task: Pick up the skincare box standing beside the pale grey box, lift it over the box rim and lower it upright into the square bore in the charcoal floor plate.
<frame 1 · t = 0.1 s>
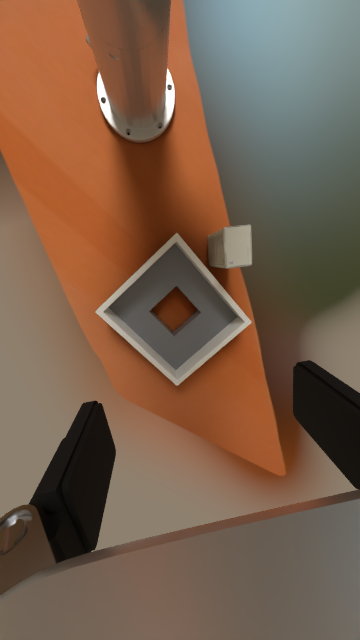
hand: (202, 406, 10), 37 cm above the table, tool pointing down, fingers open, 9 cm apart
bore box: (174, 308, 47), on the table
skincare box: (217, 250, 45), on the table
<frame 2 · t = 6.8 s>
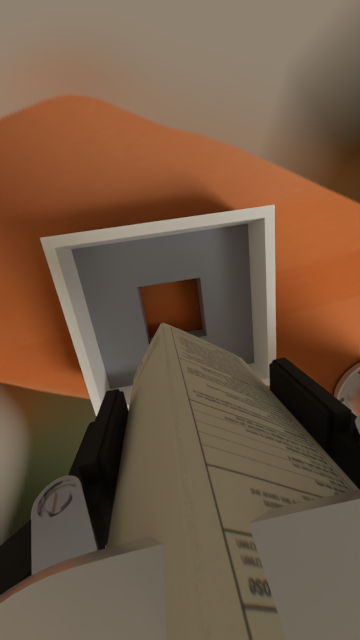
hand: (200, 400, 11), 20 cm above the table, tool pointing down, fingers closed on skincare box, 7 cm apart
bore box: (172, 307, 29), on the table
skincare box: (190, 365, 14), point 16 cm above the table, touching gripper
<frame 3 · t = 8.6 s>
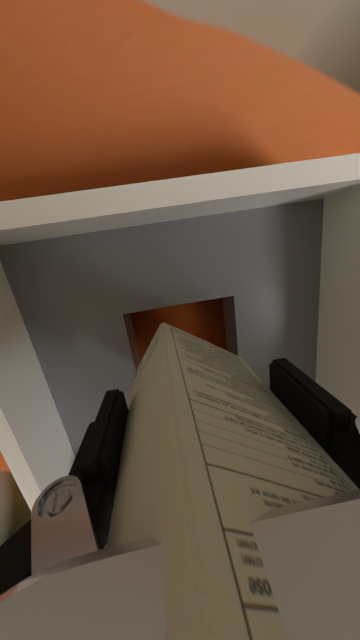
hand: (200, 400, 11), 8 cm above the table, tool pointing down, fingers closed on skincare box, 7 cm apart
bore box: (182, 340, 18), on the table
skincare box: (190, 365, 14), point 4 cm above the table, touching gripper
when the fingers open (5 cm above the table, at t = 10.0 s): skincare box drops 1 cm, resting in bore box.
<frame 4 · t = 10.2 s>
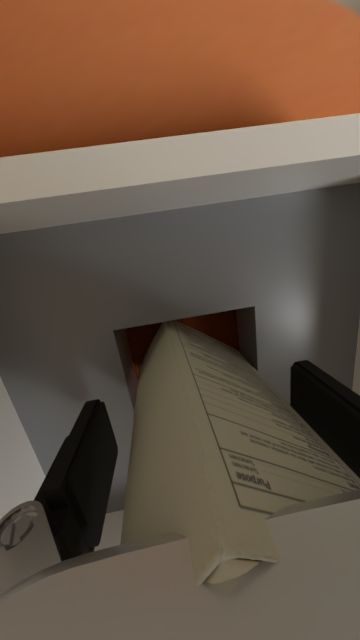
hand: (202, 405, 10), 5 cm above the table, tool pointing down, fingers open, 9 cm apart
bore box: (187, 357, 15), on the table
skincare box: (191, 356, 16), resting in bore box
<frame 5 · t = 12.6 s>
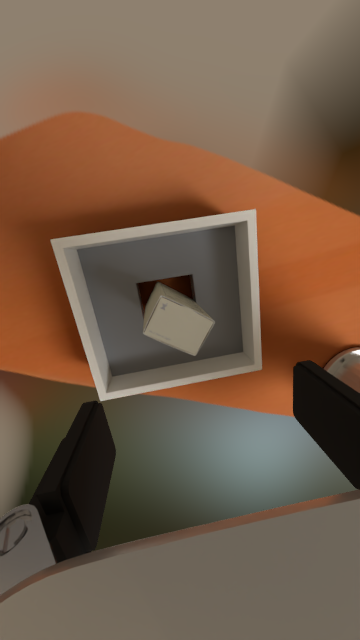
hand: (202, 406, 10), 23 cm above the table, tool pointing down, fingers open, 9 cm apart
bore box: (167, 301, 32), on the table
skincare box: (170, 302, 33), resting in bore box
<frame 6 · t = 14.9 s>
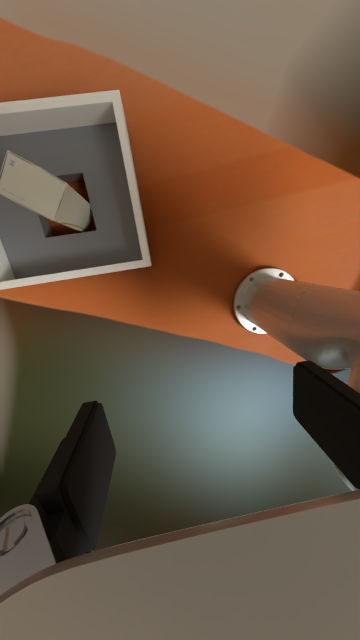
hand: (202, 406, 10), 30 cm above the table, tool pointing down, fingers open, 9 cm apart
bore box: (71, 210, 34), on the table
skincare box: (74, 211, 34), resting in bore box
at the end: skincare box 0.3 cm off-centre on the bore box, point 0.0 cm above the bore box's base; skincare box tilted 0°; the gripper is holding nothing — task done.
